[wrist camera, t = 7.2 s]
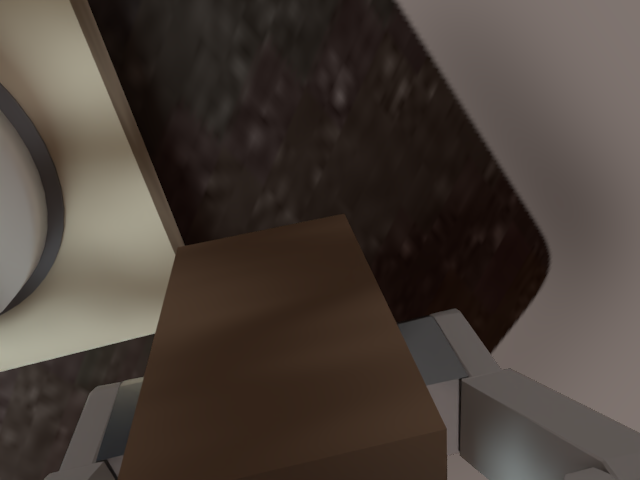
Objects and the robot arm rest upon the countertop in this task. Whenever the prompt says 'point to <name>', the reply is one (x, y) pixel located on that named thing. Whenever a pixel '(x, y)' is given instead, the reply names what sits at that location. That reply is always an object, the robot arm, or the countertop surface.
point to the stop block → (281, 368)
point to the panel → (81, 189)
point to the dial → (19, 213)
